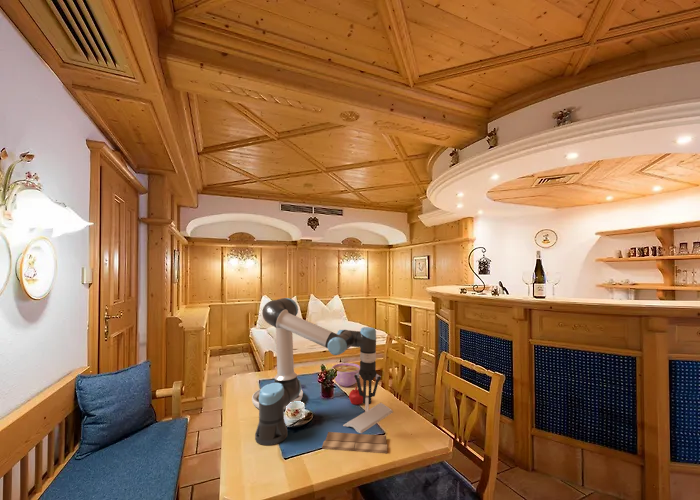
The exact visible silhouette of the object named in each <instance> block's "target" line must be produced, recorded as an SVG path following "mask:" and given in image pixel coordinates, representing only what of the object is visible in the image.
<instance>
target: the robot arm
mask: <svg viewBox="0 0 700 500" xmlns="http://www.w3.org/2000/svg"><path fill="white" fill-rule="evenodd" d="M298 311H299V307H298V304H297V302H296V301H295V300H293V299H292V298H289V297H283V298H278V299H274V300H273V299H272V300H270V301H267V302H266V303H265V305H264V306H263V308H262V312H261V313H262V318H263V320H264V321H265V322H266V323H267V324H269V325H270V326H272V327H274V328H275V341H276V343H275V344H276V346H275V347H276V371H277V372H276V375H275V376H274V382H271V383H268V384H265V385H264V386H262V387H261V388H260V389H261V390H260V393H259V410H258V425H257V427H256V430H255V435H254V440H255V443H257V444H259V445H262V446H273V445H277V444H280V443H282V442H283V441H285V440H286V439H287V437H288V428H287V424H286V422H285V410H284V407H285V406H287V405H288V404H289V403H290V402H292V401H293V400H295V399H296V398H297V396H298V395H299V394H300V391H301V389H302V383H301V380H300V379H299V378H298V375H297V373H296V372H295V369H294V368H295V367H294V343H293V342H294V340H293V339H294V338H293V334H295V335H296V336H300V337H301V338H304V339H306V340H307V341H310V342H312V343H314V344H317V345H319V346H322V347H324V348H325V349H327V350H328V352H329V353H330V354H331V355H333V356H339V355H341V354H343V353H345V351H347V350H348V349H350V348H351V347H353V348H360V349H359V350H360V351H359V359H360V361H359V366H360V370H359V373H357V374H355V376H354V377H355V379H356V381H357V382H356V385H357V386H356V387H357V390H359V395H360V396H363V403H362V404H363V405H364V406H365V407H364V410H365V411H364V412H368V411H369V409H370V406H369V405H371V404H372V398H374V397H376V393H377V389H378V385H379V382H380V380H381V377H382V376H381V375H380V374H378V373H377V370H376V369H377V367H376V366H377V365H376V364H377V362H376V360H377V330H376V328H374V327H370V326H363V327H361V328H360V330H359V331H358V330H350V329H339V330H337V332H336V333H335V332H333V331H331V330H328V329H327V328H324V327H322V326H319V325H317V324H315V323H313V322H311V321H308V320H305V319H303V318H302V317H298V316H297V315H298V313H299V312H298ZM360 378H361V379H362V381H363V383H362V384H361V380H360ZM374 378H375V384H374V387H373V390H372V383H373V380H374ZM367 381H368V395H367ZM362 385H363V387H362ZM362 391H363V392H362Z"/></svg>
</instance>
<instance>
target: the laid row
mask: <svg viewBox="0 0 700 500" xmlns="http://www.w3.org/2000/svg"><path fill="white" fill-rule="evenodd" d="M321 448H322V450H334V451H349V452H362V453H363V452H365V453H376V454H377V453H378V454H388V444H387V443H386V444H371V443H355V442H341V441H327V440H326V439H325V440H323V442H322V446H321Z"/></svg>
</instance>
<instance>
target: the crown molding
mask: <svg viewBox="0 0 700 500" xmlns="http://www.w3.org/2000/svg"><path fill="white" fill-rule="evenodd" d="M393 413H394V411H393V409H391V408H390V407H389V406H387V405H386V404H384V403H383V402H380V403H377V404H376V405H374V406H373V407H371V408H369V411H368V412H365V411H364V412H362V413H360V414H359V415H358V416H355V417H354V418H352V419H350V420H349V421H347V422H346V423H344V424H343V425H342V426H343V427H347V428H348V427H351V428H352V429H354V430H355V431H356V432H357V433H358V434H364V432H366V431H367V430H369V429H370V428H372V427H374V425H377V423H378V424H379V422H381V421H382V420H383V419H385V418H386V417H387V418H388V416H390V415H392V414H393Z"/></svg>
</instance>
